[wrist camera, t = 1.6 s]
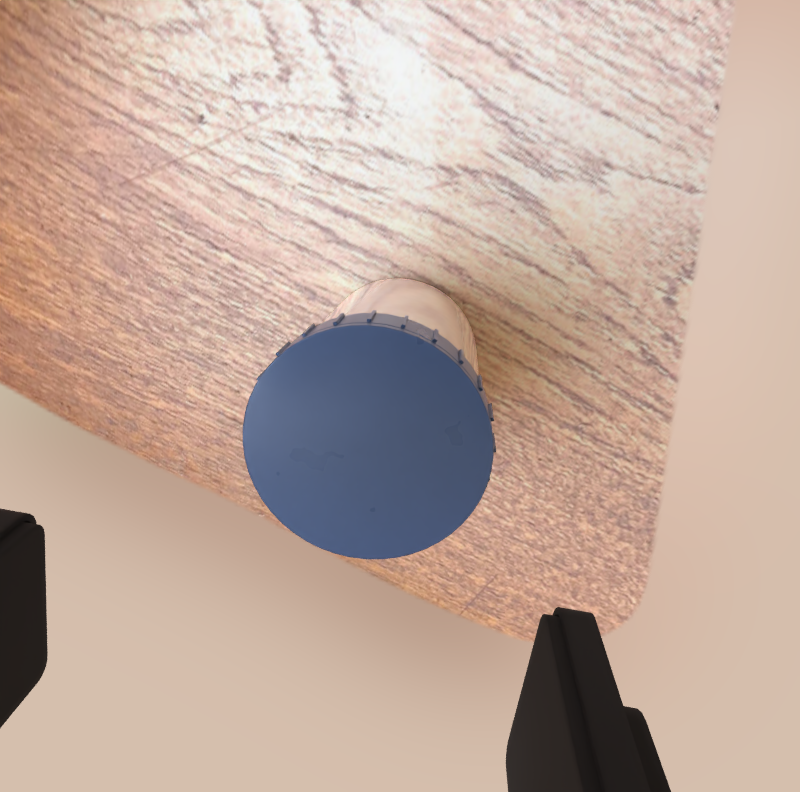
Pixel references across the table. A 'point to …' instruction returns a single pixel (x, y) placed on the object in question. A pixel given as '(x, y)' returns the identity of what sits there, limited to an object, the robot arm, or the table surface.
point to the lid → (370, 436)
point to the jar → (414, 310)
